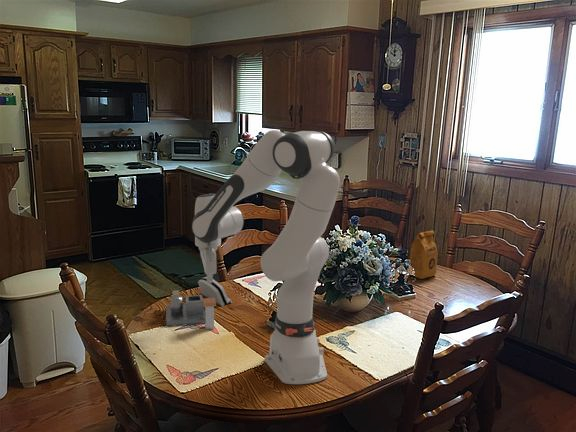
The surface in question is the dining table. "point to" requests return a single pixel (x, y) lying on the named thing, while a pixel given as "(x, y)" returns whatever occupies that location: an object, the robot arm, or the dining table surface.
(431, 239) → the coffee package
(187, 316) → the grey twin-post block
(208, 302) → the tan capped white cylinder
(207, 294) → the napkin holder
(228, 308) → the dining table surface
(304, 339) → the robot arm
